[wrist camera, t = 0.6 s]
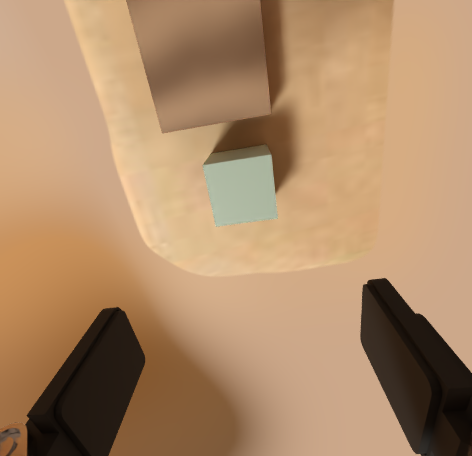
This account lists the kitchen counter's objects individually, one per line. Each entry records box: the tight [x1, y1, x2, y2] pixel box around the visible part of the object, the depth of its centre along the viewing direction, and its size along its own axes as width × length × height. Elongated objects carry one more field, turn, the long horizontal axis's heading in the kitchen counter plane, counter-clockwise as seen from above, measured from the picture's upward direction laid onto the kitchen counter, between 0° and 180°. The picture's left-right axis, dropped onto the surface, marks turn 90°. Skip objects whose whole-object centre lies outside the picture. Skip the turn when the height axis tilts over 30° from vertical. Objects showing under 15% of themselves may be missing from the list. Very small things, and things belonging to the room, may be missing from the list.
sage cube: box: [203, 144, 278, 227], centre depth 26 cm, size 6×6×6 cm
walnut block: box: [126, 0, 271, 133], centre depth 23 cm, size 10×10×4 cm
